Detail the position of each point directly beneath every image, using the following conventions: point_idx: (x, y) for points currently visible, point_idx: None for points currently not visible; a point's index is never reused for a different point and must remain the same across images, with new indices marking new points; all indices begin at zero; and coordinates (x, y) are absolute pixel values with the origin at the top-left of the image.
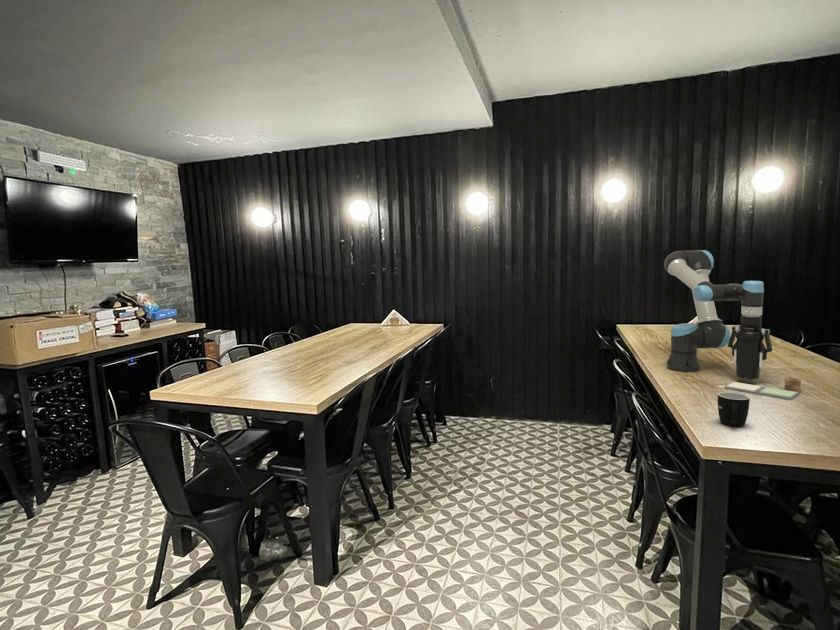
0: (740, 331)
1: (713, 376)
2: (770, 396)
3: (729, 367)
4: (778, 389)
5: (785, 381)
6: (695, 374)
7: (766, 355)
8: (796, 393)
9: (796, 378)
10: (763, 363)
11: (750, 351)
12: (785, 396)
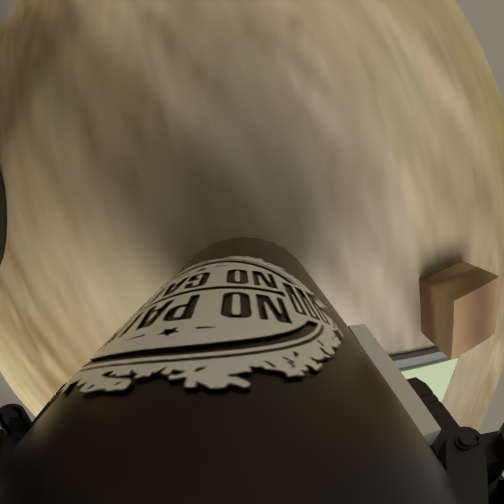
0: None
1: (74, 272)
2: None
3: (76, 17)
4: (407, 376)
5: (447, 355)
6: (26, 288)
7: (440, 418)
8: (454, 362)
9: (489, 282)
10: (375, 339)
11: None
12: None
